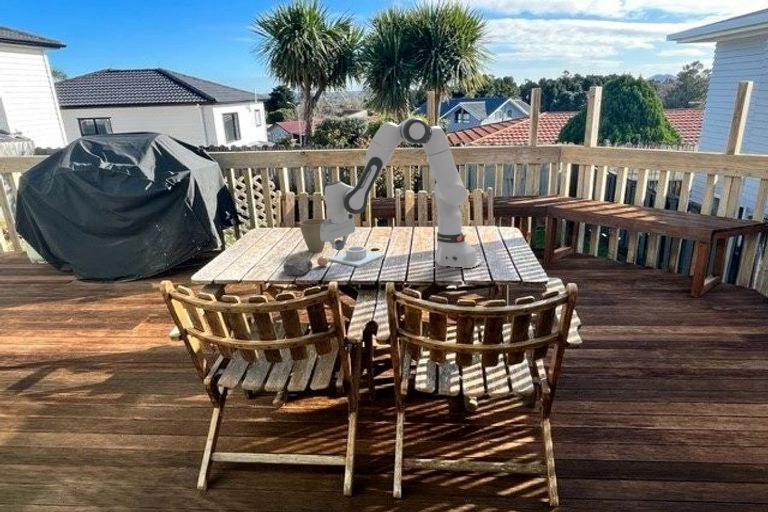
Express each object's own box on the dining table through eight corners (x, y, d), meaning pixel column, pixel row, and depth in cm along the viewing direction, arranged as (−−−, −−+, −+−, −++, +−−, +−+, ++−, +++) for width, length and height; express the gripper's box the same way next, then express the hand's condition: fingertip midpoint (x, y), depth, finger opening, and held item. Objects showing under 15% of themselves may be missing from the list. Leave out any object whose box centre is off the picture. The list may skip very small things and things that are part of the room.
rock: (303, 278, 202) (315, 268, 216) (303, 264, 200) (315, 255, 214) (278, 276, 204) (291, 266, 219) (277, 262, 203) (290, 253, 217)
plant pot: (313, 245, 253) (311, 217, 248) (335, 248, 246) (333, 219, 241) (296, 252, 241) (293, 223, 236) (318, 255, 234) (315, 225, 229)
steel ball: (347, 249, 209) (346, 239, 208) (339, 252, 205) (338, 241, 204) (339, 248, 212) (338, 238, 210) (331, 251, 208) (330, 240, 207)
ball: (330, 265, 217) (329, 255, 215) (323, 268, 213) (322, 258, 211) (322, 263, 220) (322, 254, 218) (315, 266, 216) (314, 256, 214)
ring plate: (384, 256, 228) (383, 246, 227) (359, 267, 213) (358, 256, 212) (354, 250, 240) (353, 241, 238) (328, 260, 225) (327, 251, 223)
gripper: (325, 223, 194) (328, 253, 198) (356, 213, 210) (358, 242, 214) (315, 221, 198) (318, 251, 202) (346, 212, 213) (348, 240, 217)
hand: (339, 246), depth 208 cm, fingers closed on steel ball, 5 cm apart
